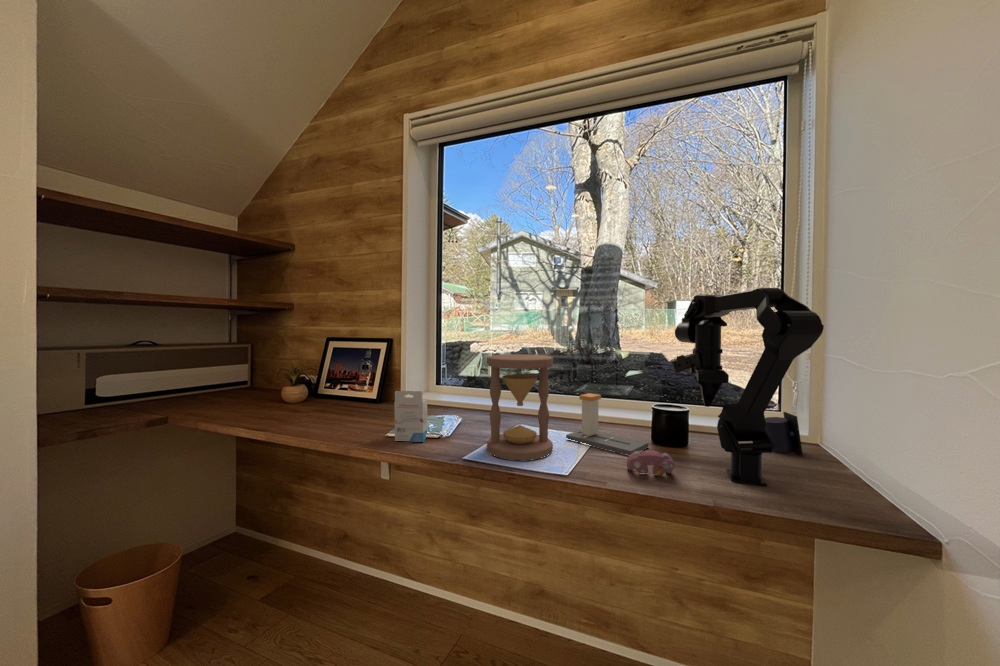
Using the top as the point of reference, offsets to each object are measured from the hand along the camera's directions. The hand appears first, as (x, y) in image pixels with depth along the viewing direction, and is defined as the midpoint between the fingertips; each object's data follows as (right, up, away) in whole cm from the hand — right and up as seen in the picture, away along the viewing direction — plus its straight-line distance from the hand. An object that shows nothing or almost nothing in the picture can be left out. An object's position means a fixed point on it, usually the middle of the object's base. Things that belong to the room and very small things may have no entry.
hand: (707, 406), depth 97 cm
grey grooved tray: (-22, -13, +11) cm, 28 cm away
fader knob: (-26, -11, +15) cm, 32 cm away
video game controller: (-18, -14, -10) cm, 25 cm away
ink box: (-78, -13, +15) cm, 80 cm away
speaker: (+22, -13, +5) cm, 26 cm away
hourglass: (-47, -13, +6) cm, 49 cm away
